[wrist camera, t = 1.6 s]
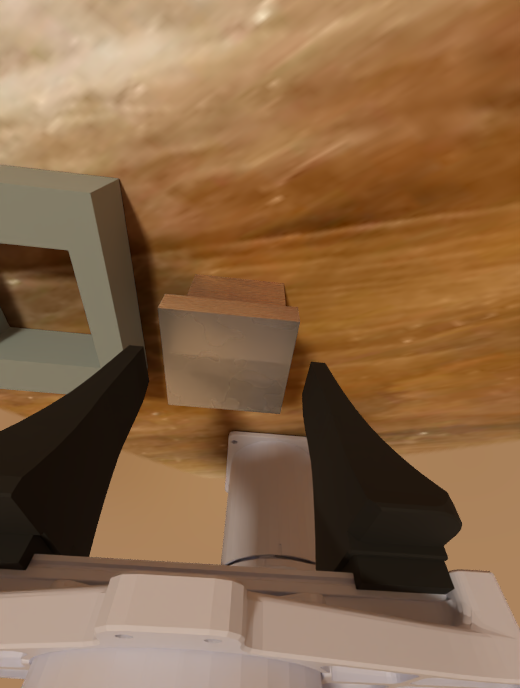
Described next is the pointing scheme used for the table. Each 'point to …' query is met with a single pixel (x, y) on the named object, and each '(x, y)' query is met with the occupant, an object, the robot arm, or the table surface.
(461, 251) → the table surface
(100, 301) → the well block
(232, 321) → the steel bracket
